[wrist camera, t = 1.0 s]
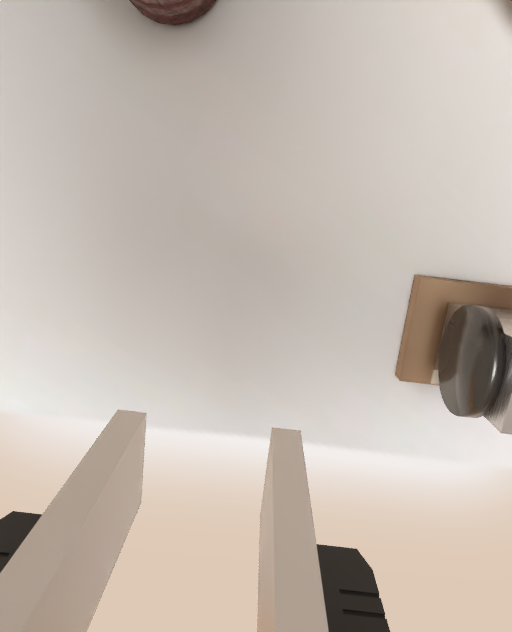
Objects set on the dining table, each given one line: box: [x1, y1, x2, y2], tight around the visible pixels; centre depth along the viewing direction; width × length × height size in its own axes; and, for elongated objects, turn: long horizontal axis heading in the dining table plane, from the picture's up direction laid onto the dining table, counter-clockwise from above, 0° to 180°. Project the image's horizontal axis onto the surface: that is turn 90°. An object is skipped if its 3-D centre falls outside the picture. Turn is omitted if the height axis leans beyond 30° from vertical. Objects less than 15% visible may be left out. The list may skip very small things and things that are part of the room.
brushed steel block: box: [435, 302, 512, 434], centre depth 26 cm, size 6×7×9 cm
